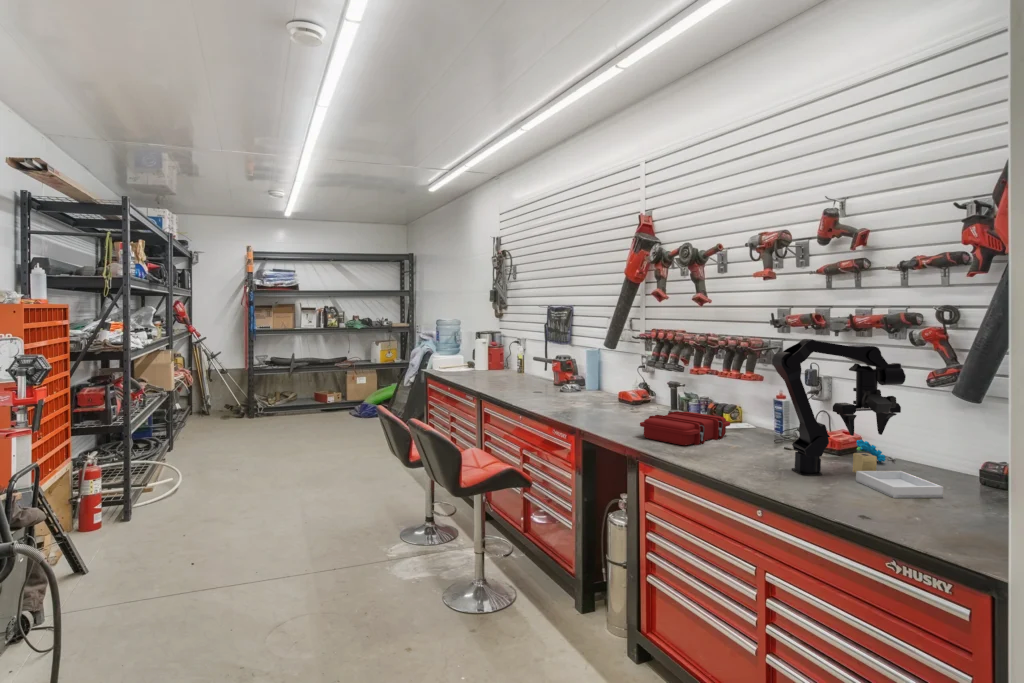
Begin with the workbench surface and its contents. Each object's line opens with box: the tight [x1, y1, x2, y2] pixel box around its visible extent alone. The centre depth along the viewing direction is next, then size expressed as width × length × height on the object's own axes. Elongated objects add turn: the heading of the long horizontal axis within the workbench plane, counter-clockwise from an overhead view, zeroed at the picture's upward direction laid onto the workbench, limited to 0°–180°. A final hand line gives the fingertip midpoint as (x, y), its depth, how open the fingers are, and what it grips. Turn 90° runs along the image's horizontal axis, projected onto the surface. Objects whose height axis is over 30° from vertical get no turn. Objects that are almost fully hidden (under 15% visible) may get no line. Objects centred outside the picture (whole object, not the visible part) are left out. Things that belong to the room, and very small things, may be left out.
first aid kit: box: [639, 410, 731, 446], centre depth 233 cm, size 32×23×9 cm
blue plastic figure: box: [855, 439, 886, 463], centre depth 198 cm, size 11×6×10 cm
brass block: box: [852, 452, 878, 474], centre depth 182 cm, size 4×4×6 cm
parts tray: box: [855, 470, 944, 499], centre depth 166 cm, size 14×16×3 cm
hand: (866, 435), depth 182 cm, fingers open, 9 cm apart
